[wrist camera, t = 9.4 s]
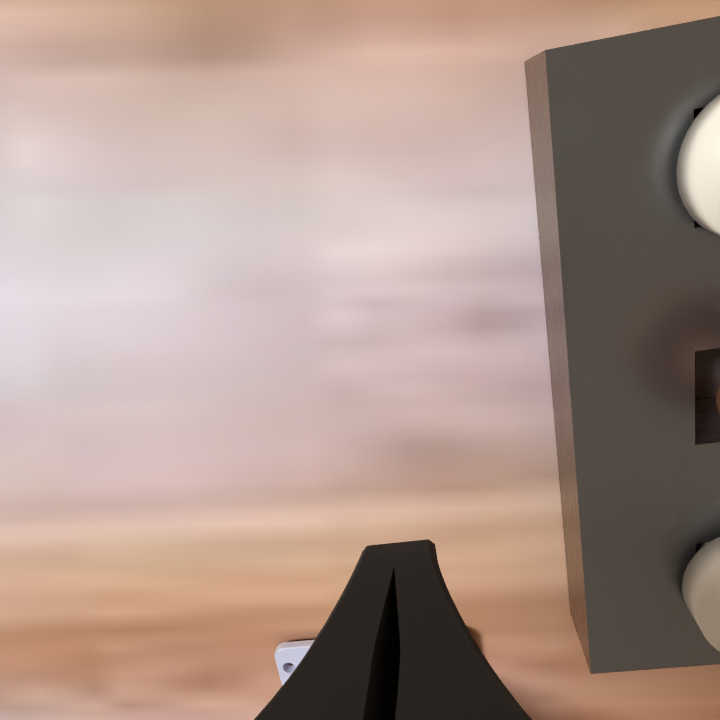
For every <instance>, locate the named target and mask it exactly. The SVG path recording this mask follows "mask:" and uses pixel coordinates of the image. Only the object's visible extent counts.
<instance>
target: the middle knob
mask: <svg viewBox="0 0 720 720" xmlns="http://www.w3.org/2000/svg"><path fill="white" fill-rule="evenodd" d="M716 405H717V409H718V411H719V413H720V386H719V389H718V391H717V395H716Z"/></svg>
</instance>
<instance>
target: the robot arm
mask: <svg viewBox="0 0 720 720" xmlns="http://www.w3.org/2000/svg"><path fill="white" fill-rule="evenodd" d="M275 661H276V664H277V668H278V671H279V675H280V679H281V682H282V687H281V688H280V690H279V691H278V692H277V693H276V695H275V696H274V697H273V698H272V700H271V701H270V702H269V703H268V704H267V705H266V707H265V708H264V709H263V710H262V711H261V712H260V713H259V715H258V716H257V717H256V718H255V719H254V720H532V719H531V718H530V717H529V716H528V715H527V714H526V712H525V711H524V710H523V709H522V708H521V706H520V705H519V704H518V703H517V701H516V700H515V699H514V697H513V696H512V695H511V693H510V692H509V691H508V690H507V688H506V687H505V686H504V684H503V683H502V681H501V680H500V679H499V677H498V676H497V674H496V673H495V672H494V670H493V669H492V667H491V666H490V664H489V663H488V661H487V660H486V658H485V657H484V655H483V654H482V652H481V650H480V649H479V647H478V646H477V644H476V642H475V641H474V639H473V637H472V636H471V634H470V632H469V630H468V629H467V627H466V625H465V623H464V621H463V620H462V618H461V616H460V614H459V612H458V610H457V608H456V606H455V604H454V602H453V600H452V598H451V596H450V594H449V591H448V589H447V587H446V584H445V582H444V579H443V577H442V574H441V571H440V568H439V565H438V561H437V555H436V549H435V544H434V543H432V542H431V541H430V540H419V541H410V542H400V543H390V544H380V545H370V546H367V547H366V548H365V549H364V550H363V552H362V554H361V556H360V559H359V561H358V563H357V565H356V567H355V570H354V572H353V574H352V576H351V578H350V580H349V582H348V584H347V586H346V588H345V589H344V591H343V593H342V595H341V597H340V599H339V601H338V602H337V604H336V606H335V608H334V609H333V611H332V613H331V615H330V616H329V618H328V620H327V622H326V623H325V625H324V627H323V628H322V630H321V631H320V633H319V634H318V636H317V637H316V639H315V640H306V641H294V642H285V643H281V644H280V645H278V647H277V649H276V652H275ZM286 663H292V664H293V665H288V664H286Z"/></svg>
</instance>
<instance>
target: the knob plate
mask: <svg viewBox="0 0 720 720" xmlns="http://www.w3.org/2000/svg"><path fill="white" fill-rule="evenodd" d="M525 71H526V83H527V95H528V107H529V119H530V131H531V143H532V155H533V167H534V179H535V191H536V203H537V215H538V227H539V239H540V252H541V264H542V276H543V288H544V300H545V312H546V324H547V336H548V348H549V360H550V372H551V384H552V396H553V408H554V420H555V432H556V444H557V456H558V468H559V480H560V492H561V504H562V516H563V528H564V540H565V552H566V564H567V576H568V588H569V600H570V612H571V616H572V619H573V622H574V625H575V628H576V631H577V634H578V637H579V640H580V643H581V646H582V649H583V652H584V655H585V658H586V661H587V664H588V667H589V670H590V673H591V674H595V673H608V672H621V671H634V670H647V669H660V668H674V667H687V666H700V665H713V664H720V651H718V650H717V649H716V648H714V647H713V646H712V645H711V644H710V643H709V642H708V641H707V639H706V638H705V636H704V635H703V633H702V631H701V629H700V628H699V626H698V624H697V622H696V621H695V619H694V617H693V616H692V614H691V612H690V610H689V609H688V607H687V605H686V603H685V601H684V598H683V594H682V580H683V576H684V572H685V570H686V568H687V566H688V564H689V562H690V561H691V559H692V558H693V557H694V555H695V554H696V543H703V542H711V541H712V540H714V539H716V538H718V537H720V413H719V411H718V409H717V405H716V397H713V398H705V399H697V400H695V351H701V350H708V349H716V348H720V236H718V235H716V234H714V233H712V232H710V231H708V230H706V229H705V228H703V227H702V226H700V225H699V224H698V223H697V222H696V221H695V220H694V219H693V218H692V217H691V215H690V214H689V213H688V211H687V210H686V208H685V206H684V204H683V202H682V199H681V197H680V194H679V190H678V185H677V162H678V156H679V152H680V148H681V145H682V142H683V140H684V138H685V135H686V133H687V131H688V129H689V128H690V126H691V124H692V123H693V121H694V109H697V108H703V107H706V105H707V104H708V103H709V102H711V101H712V100H713V99H714V98H715V97H716V96H718V95H719V94H720V16H718V17H713V18H708V19H703V20H697V21H692V22H687V23H682V24H677V25H672V26H667V27H662V28H657V29H651V30H646V31H641V32H636V33H631V34H626V35H621V36H616V37H610V38H605V39H600V40H595V41H590V42H585V43H580V44H575V45H570V46H564V47H559V48H554V49H549V50H545V51H543V52H541V53H539V54H537V55H536V56H534V57H532V58H530V59H528V60H527V61H525Z"/></svg>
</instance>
